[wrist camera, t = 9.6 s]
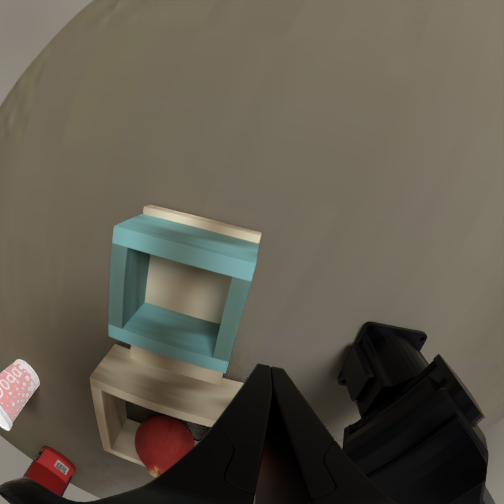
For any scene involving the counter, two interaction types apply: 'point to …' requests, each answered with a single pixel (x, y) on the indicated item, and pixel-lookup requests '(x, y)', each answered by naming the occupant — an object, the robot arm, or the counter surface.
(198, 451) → the robot arm
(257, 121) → the counter surface
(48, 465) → the canned food
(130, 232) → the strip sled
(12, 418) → the beverage cup
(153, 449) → the onion
